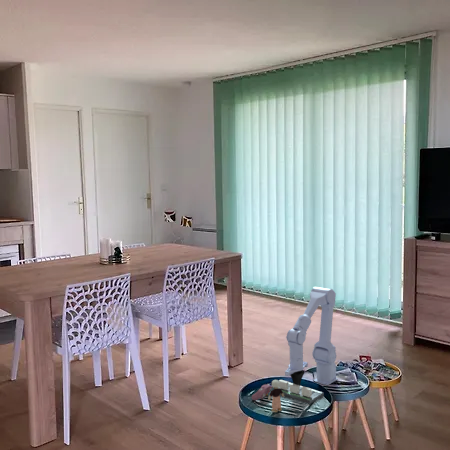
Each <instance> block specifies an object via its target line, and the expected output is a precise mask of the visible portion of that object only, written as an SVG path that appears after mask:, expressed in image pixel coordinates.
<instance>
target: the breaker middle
mask: <svg viewBox="0 0 450 450" xmlns="http://www.w3.org/2000/svg"><path fill="white" fill-rule="evenodd" d="M290 383H291V384H290V392H293V393H296V394H298V393H300V391H299V385H296V384H294V383H293V382H290Z"/></svg>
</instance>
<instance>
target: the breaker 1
mask: <svg viewBox="0 0 450 450" xmlns="http://www.w3.org/2000/svg"><path fill="white" fill-rule="evenodd" d="M278 381H279V383H280V385H279V388H281V389H285V390H287V389H288V382H289V381H287V380H283V379H279V380H278Z"/></svg>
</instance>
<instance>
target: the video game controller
mask: <svg viewBox="0 0 450 450" xmlns="http://www.w3.org/2000/svg"><path fill="white" fill-rule="evenodd" d="M273 389H274V388H273V386H272V384H269V383H267V384H263V385H261V387H260V388H259V389H258V390H257V391H256V392H255V393H254V394H252V396H251V400H253V401H257V400H259V399H260V400H263V399H264V397H265V398H266V397H269V394H270V392H271V391H272V390H273Z"/></svg>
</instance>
